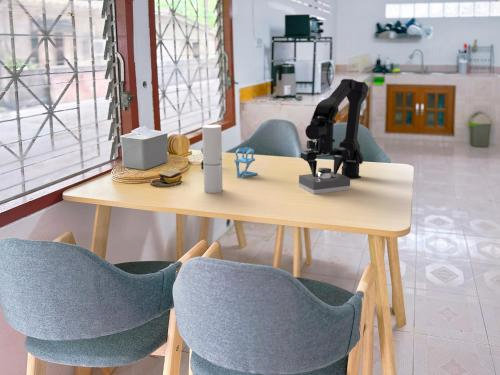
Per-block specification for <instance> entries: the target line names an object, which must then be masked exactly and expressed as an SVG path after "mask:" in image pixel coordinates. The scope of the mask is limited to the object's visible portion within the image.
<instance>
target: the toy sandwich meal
mask: <svg viewBox="0 0 500 375" xmlns="http://www.w3.org/2000/svg"><path fill="white" fill-rule="evenodd" d="M158 175H159V178H160V180H153V179H151V180H150V184H151V185H152V186H154V185H155V187H159V188H161V187H163V188H164V187H174V186H177V185H179V184H180V183H181V182H182V178H183V177H182V171H181V170H179V169H176V168H168V169H165V170H163V171H162V172H159V173H158Z"/></svg>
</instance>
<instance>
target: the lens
mask: <svg viewBox="0 0 500 375" xmlns="http://www.w3.org/2000/svg"><path fill="white" fill-rule="evenodd" d="M331 172H332V168H330V167H319V168H317V173H318V178H319V179H330V178H331Z"/></svg>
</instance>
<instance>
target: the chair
mask: <svg viewBox="0 0 500 375" xmlns="http://www.w3.org/2000/svg"><path fill="white" fill-rule="evenodd" d="M239 152H241V153H242V154H241V157H239V155H238V154H239ZM245 152H246V153H245ZM254 153H255V150H254V149H253V148H251V147H248V146H245V147H240V148H237V150H236V151H235V152H234V154H235V156H236V157H235V159H234V163H235V168H236V178H240V177H241V178H242V179H245V178H248V177H253V176H257V175H258V172H255V171H248V169H249V167H250V165H251V164H252V163H253V162H255V161H256V158H254ZM250 154H251V157H248V156H249V155H250ZM241 163H242V164H246V166H245V168H244V170H241V171H240V164H241Z"/></svg>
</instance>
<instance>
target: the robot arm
mask: <svg viewBox="0 0 500 375" xmlns="http://www.w3.org/2000/svg"><path fill="white" fill-rule="evenodd" d="M368 92H369V85H368V84H367V83H366V82H365V81H359V80H358V81H357V80H355V79H352V78H343V79H341V80H340V83H339V84H338V85H337V87H336V88H335V89H334V90H333V91H332V93H331V94H330V95H329V97H327V98H324V99H322V100H321V101H320V102H318V103H317V105H316V107H315V109H314V111H313V114H312V117H311V120H310V122H309V123H310V124H308V125H307V126H306V127H305V130H304V131H305V133H304V134H305V136H306V137H307V138H308V139H309V140H307V141H306V150H302V151H301V152H300V159H302V160H303V161H306V162H307V164H308V166H309V168H310V172H311V174H312V175H313V177H315V175H316V173H317V165H318V160H316V159H317V158H322V157H331V156H332V157H333V172H334V174H335V175H336V173H338V171H339V169H340V168H341V174H342V175H344V176H346V177H349V178H350V180H351V179H358V178H359V179H360V178H361V177H362V176H361V175H360V165H362V164H363V162H364V157H363V154H362V152H361V145H360V143H359V141H358V135H359V127H360V126H359V125H360V118H361V109H362V104H363V103H364V101H365V100H366V98H367V94H368ZM345 99H347V101H348V111H347V119H346V129H345V136H344V139H343V140H342V141H340V142H339V147H334V143H335V142H336V139H335V138H334V128H335V127H334V126H335V125H334V124H335V123H337V121H336V119H335V118H336V116H337V114H338V113H339V106H340V105H341V103H342V102H344V100H345ZM313 140H315V141H313Z"/></svg>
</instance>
